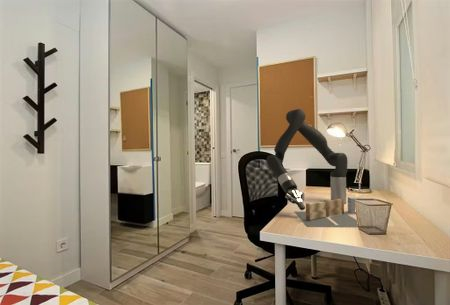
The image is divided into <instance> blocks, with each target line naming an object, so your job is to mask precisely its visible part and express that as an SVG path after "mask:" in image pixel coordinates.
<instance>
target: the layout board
mask: <svg viewBox="0 0 450 305" xmlns="http://www.w3.org/2000/svg"><path fill="white" fill-rule="evenodd" d="M294 213H295V214H296V216H297V217H298V218H299V219H300V220H301V222H302V223H303V224H304V225H305V226H306V228H359V227H358V224H357V219H356V218H354V217H352V216H351V215H350V214H347V213H346V212H344V214H340V215H335V216H330V217H322V218H317V219H312V220H306V211H294Z"/></svg>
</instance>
